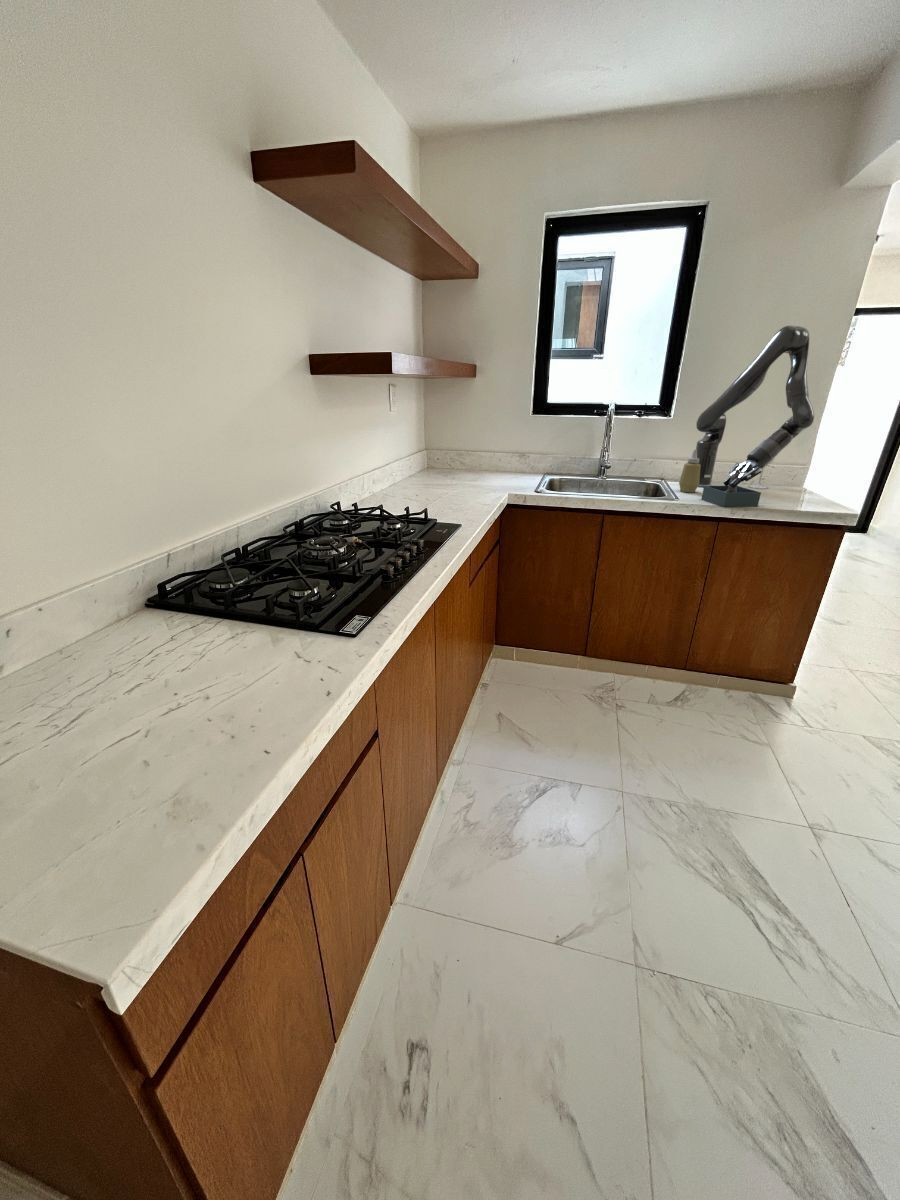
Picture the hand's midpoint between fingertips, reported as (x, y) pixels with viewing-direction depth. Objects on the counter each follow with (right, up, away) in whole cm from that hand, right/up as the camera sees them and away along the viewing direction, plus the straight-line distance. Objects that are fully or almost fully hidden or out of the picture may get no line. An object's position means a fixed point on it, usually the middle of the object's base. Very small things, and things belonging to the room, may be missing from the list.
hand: (728, 485), depth 198 cm
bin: (+2, -6, +3) cm, 7 cm away
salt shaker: (+2, -6, +3) cm, 7 cm away
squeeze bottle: (-4, +3, +25) cm, 25 cm away
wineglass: (+34, +7, +36) cm, 50 cm away
